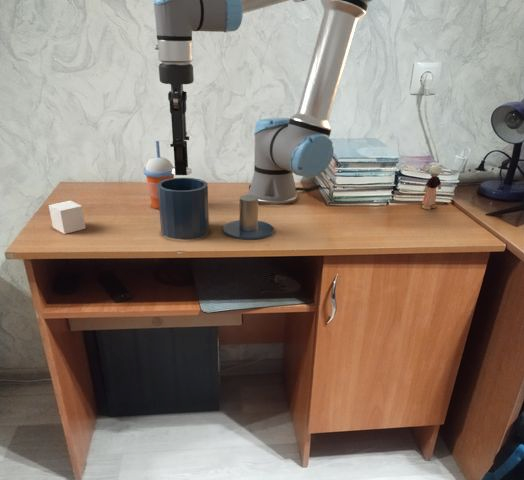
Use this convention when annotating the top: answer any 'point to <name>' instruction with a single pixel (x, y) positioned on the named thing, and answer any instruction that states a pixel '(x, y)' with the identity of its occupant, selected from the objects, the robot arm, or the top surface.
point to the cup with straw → (157, 175)
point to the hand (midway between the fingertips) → (181, 171)
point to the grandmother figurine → (432, 187)
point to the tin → (183, 208)
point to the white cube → (67, 216)
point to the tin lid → (248, 221)
